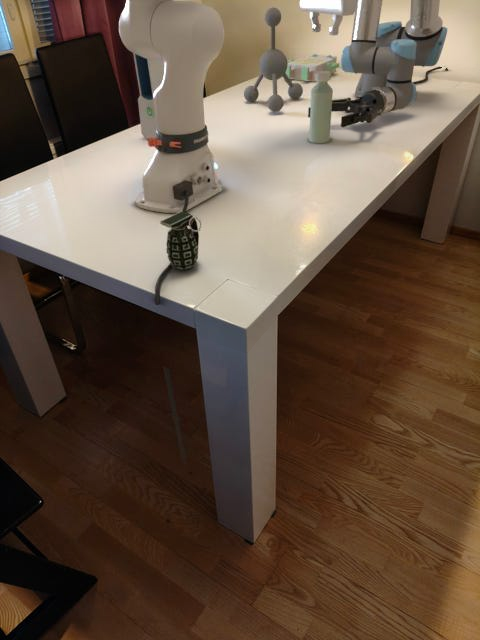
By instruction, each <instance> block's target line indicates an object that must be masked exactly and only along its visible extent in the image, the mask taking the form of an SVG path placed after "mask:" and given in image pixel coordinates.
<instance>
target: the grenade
mask: <svg viewBox="0 0 480 640" xmlns="http://www.w3.org/2000/svg"><path fill="white" fill-rule="evenodd" d="M198 222H199V226H198ZM159 224H160V225H162V226H164V227H166V228H169V230H168V231H167V236H166V254H167V259H168V261H169V263H171V264H172V266H173V267H174V268H176V269H178V270H181V271H186V270H189V269H192V267H194V266H195V265H196V264H197V262H198V261H197V260H198V259H199V243H200V241H199V240H200V233H199V232H200V231H201V228H202V221H201V220H200V219H199V218H198V217H197V216H194V215H193V214H192V213H189V212H187V211H186V212H184V211H181V212H179V213H174V214H172V215H170V216H169V217H166V218H165V219H162V220H160V222H159ZM198 227H199V228H198Z"/></svg>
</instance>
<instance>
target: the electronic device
mask: <svg viewBox="0 0 480 640" xmlns="http://www.w3.org/2000/svg"><path fill="white" fill-rule="evenodd" d="M132 54H133V60H134V61H133V62H134V65H135V72H136V79H137V86H138V90H139V97H138V98H137V103H138V113H139V123H140V129H141V130H140V131H141V135H142V136H143V138H144V139H146V140H148V139H149V138H150V137H152V138H156V130H157V129H158V128H157V121H156V114H155V107H154V100H153V94H154V91H155V89H156V88H157V87H158V86H159V85H160V84H161V83H162V82H163V78H164V71H165V65H164V61H160V60H151V59H146V58H143V57H141V56H139V55H137V54H135V53H133V52H132Z"/></svg>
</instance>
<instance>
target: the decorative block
mask: <svg viewBox="0 0 480 640" xmlns="http://www.w3.org/2000/svg"><path fill="white" fill-rule="evenodd" d="M337 58H338V57H337V56H336V55H335V56H334V55H330V54H327V55H321V54H317V53H313V54H312V55H310V56H303V57H300V58H298V59H295V60H294V59H289V60H288V62H287V70H286V72H285V73H286V75H287V76H288V77H289V79H290V80H294V81H295V80H297V81H305V82H306V81H307V82H316V81H315V73H316V72H318V71H329V72H330V76H331V75H333V74H334V73H335V72H336V71H337V69H338V68H340V62H337Z"/></svg>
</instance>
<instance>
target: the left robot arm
mask: <svg viewBox="0 0 480 640" xmlns="http://www.w3.org/2000/svg"><path fill="white" fill-rule="evenodd" d="M298 5H299V9H300V11H302V12H309V19H310V22H311V31H312V32H313V33H320V32H321V27H322V24H321V23H320V20H319V17H320V14H326V15H332V18H331V19H332V20H333V21H332V24H331V26H330V27H329V33H328V34H329V36H338V35H339V30H340V29H339V28H340V25H341V24H342V21H343V18H344V17H346V16H353V15H355V10H356V8H357V0H299V3H298ZM118 33H119V36H120V39H121V42H122V45H124V47H125V48H126V49H127V50H128V51H129V52H131V53H132V54H133V53H135V54H137V55H139V56H141V57H143V58H146V59H151V60H160V61H164V65H165V71H164V78H163V82H162V83H161V84H160V85H159V86H158V87H157V88H156V89H155V91H154V94H153V100H154V107H155V114H156V121H157V128H158V129H157V130H156V138H152V137H150V138H149V139H147V146H149V147H151V148H152V147H154V148H155V151H154V153H153V155H152V157H151V159H150V162H149V163H148V165H147V167H146V169H145V172H144V173H143V176H142V192H140V193H139V195H138V196H137V197H135V199H134V205H135V206H137V207H138V208H140V209H142V210H143V209H144V210H147V211H151V212H157V213H164V214H177V213H179V212H181V211H184V212H187V211H189V210H190V209H193V208H194V207H196V206H198V205H199V204H201V203H203V202H205V201H207V200H208V199H210V198H212V197H214V196H215V195H217V194H219V193H220V192H222V191H223V185H222V184H220V183H219V180H218V174H217V169H218V164H217V163H216V162H215V156H214V155H213V153H212V152H211V149H210V147H209V145H208V143H209V130H208V126H207V124H206V120H205V105H204V88H205V82H206V77H207V74H208V71H209V68H210V66H211V65H212V63H213V62H214V61H215V60H216V59H217V58H218V57H219V55H220V54H221V52H222V49H223V46H224V42H225V28H224V23H223V20H222V17H221V16H220V14H219V13H218V12H217V10H216V9H215V8H213V7H212V6H209V5H206V4H204V3H200V2H197V1H194V0H125V5H124V8H123V10H122V12H121V13H120V17H119V21H118ZM173 267H174V266H172V264H171V262H169V264H168V265H167V266H166V267H165V269H163V271H162V272H161V273H160V275H159V276H158V278H157V281H156V283H155V287H154V304H155V306H159V305H160V304H161V296H160V295H161V284H162V282H163V281H164V278H165V277H166V275H167V274H168V273H169V272H170V271H171V270H172V269H173ZM163 370H164V376H165V381H166V386H167V391H168V397H169V401H170V406H171V412H172V417H173V420H174V425H175V431H176V436H177V441H178V446H179V451H180V455H181V456H180V457H181V461H182V463H183V464H185V463H186V464H187V458H186V453H185V448H184V442H183V436H182V432H181V431H182V430H181V427H180V422H179V417H178V412H177V407H176V402H175V397H174V396H175V395H174V392H173V386H172V380H171V376H170V370H169V368H168V367H167V366H165V365H163Z"/></svg>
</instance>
